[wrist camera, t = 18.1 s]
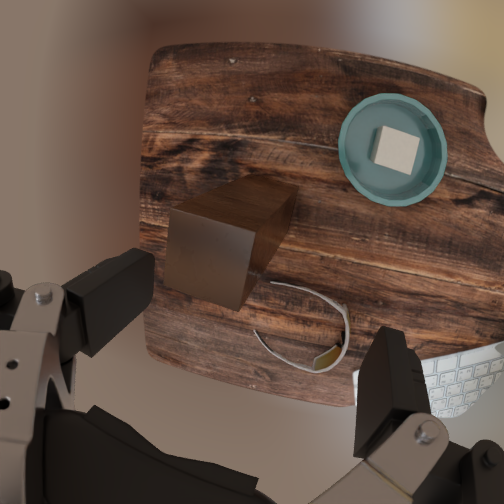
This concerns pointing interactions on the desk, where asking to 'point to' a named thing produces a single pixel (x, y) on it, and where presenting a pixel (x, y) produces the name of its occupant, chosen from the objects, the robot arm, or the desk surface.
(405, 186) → the bowl
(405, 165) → the block
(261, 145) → the desk surface
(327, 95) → the desk surface
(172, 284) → the block
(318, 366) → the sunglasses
